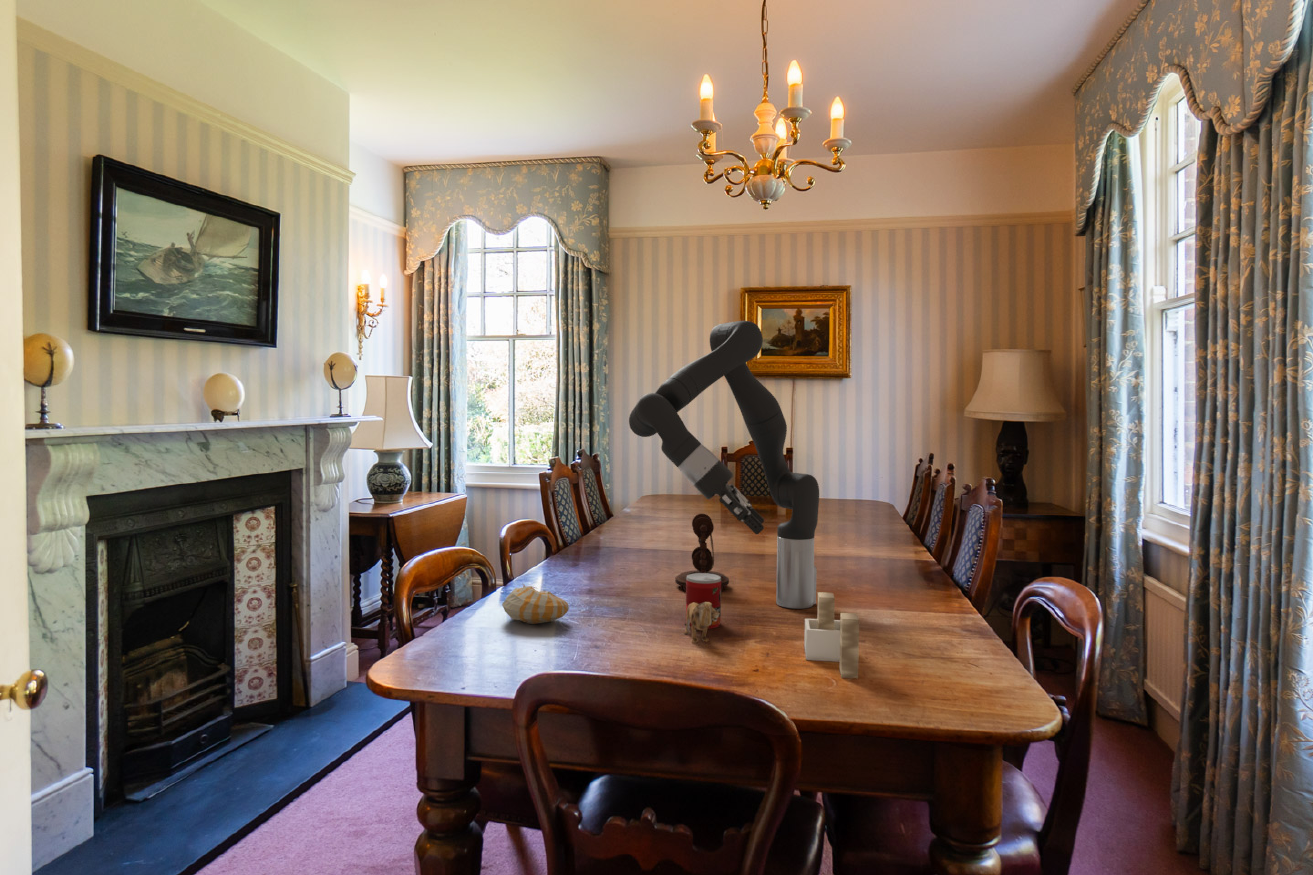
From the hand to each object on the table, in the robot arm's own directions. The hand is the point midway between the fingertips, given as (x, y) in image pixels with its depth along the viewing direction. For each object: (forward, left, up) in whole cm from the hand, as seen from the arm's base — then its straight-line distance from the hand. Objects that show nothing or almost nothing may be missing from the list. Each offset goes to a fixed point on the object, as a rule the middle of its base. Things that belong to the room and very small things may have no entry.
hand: (761, 527), depth 152 cm
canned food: (-1, -19, -25) cm, 32 cm away
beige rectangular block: (-3, +21, -25) cm, 33 cm away
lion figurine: (+6, -12, -25) cm, 29 cm away
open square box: (-8, +11, -25) cm, 28 cm away
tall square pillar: (-8, +11, -24) cm, 27 cm away
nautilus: (+28, -45, -25) cm, 59 cm away
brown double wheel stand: (-23, -46, -25) cm, 58 cm away
